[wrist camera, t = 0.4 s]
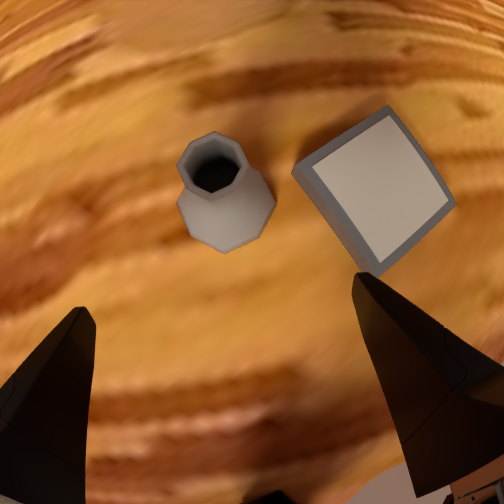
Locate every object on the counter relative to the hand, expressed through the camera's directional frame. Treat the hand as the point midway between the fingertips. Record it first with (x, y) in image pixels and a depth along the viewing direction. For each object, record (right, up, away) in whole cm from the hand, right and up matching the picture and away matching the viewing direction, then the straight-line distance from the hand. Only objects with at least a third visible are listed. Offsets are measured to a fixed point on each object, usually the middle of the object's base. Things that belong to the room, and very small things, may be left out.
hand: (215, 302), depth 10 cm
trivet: (+11, +7, +14) cm, 19 cm away
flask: (-1, +5, +14) cm, 15 cm away
